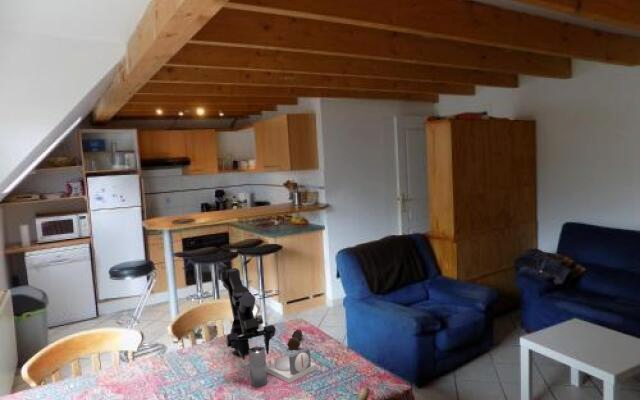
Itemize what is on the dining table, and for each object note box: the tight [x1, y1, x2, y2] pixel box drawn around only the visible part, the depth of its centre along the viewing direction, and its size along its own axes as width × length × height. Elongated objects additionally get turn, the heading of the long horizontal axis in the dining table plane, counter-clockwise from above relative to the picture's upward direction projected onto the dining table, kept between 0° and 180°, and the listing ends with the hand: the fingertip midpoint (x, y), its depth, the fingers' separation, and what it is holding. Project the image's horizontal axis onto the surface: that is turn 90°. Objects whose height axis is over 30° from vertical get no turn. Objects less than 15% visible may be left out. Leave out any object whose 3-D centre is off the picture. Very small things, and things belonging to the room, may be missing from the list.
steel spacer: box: [248, 346, 269, 388], centre depth 159 cm, size 6×6×13 cm
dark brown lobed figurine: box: [286, 329, 303, 351], centre depth 194 cm, size 6×5×15 cm
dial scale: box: [266, 347, 317, 384], centre depth 168 cm, size 14×14×9 cm
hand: (256, 356), depth 161 cm, fingers open, 9 cm apart
